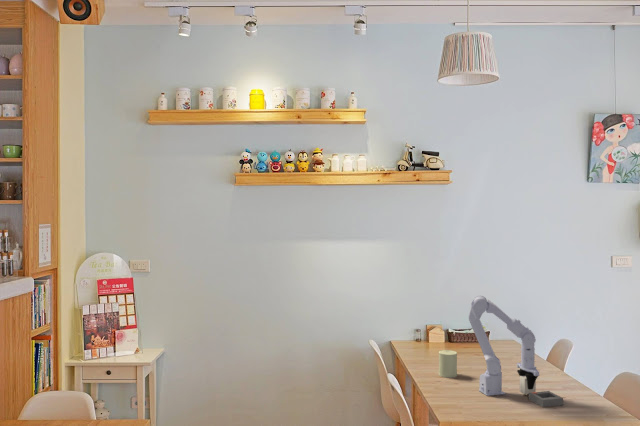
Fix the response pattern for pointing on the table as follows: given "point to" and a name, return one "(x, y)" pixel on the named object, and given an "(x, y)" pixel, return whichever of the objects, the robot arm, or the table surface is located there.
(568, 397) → the table surface
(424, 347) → the table surface
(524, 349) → the robot arm
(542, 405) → the socket
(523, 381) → the plug
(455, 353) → the can
